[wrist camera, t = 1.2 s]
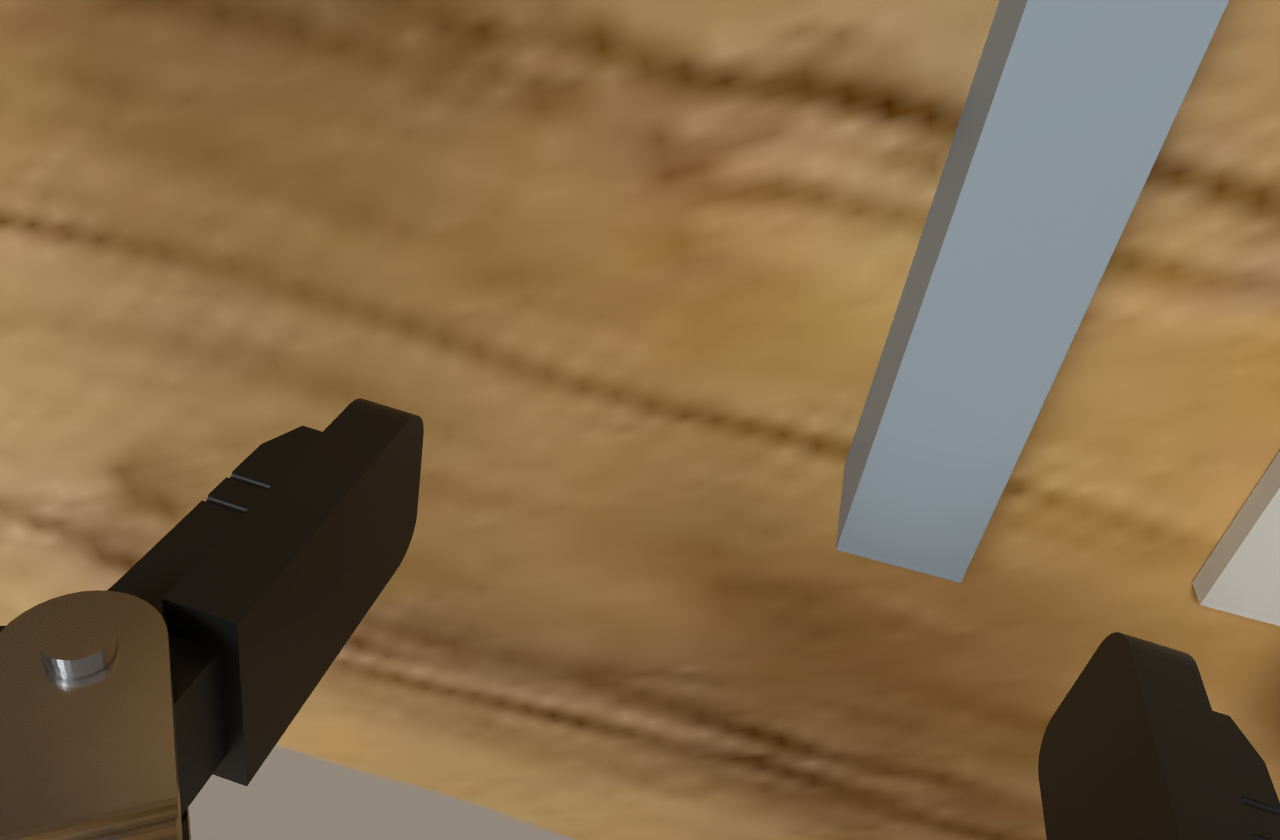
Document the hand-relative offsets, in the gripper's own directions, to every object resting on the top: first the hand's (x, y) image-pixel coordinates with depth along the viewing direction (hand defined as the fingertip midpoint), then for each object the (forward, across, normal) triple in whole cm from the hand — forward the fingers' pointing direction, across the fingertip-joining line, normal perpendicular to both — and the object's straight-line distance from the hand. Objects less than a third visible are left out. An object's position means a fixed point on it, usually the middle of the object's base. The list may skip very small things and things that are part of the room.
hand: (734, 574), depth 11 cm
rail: (+18, -5, 0) cm, 18 cm away
